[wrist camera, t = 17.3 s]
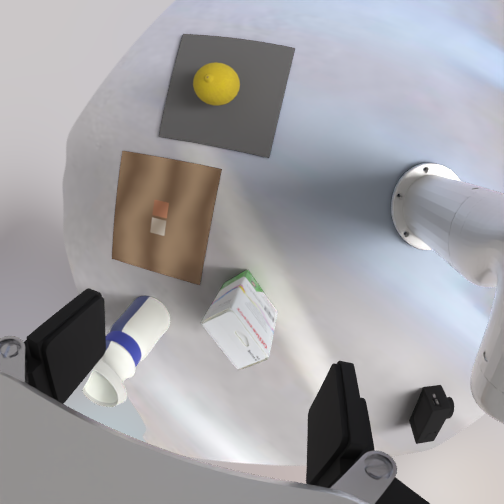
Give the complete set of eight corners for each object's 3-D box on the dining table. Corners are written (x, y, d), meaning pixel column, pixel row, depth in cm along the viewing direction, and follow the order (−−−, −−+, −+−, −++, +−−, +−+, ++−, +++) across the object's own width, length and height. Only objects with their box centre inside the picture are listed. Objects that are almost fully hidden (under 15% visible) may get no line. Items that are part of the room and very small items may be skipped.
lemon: (236, 65, 36) (222, 47, 29) (250, 100, 38) (239, 88, 30) (199, 81, 38) (178, 67, 30) (212, 115, 39) (193, 108, 31)
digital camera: (430, 417, 52) (438, 440, 45) (409, 420, 53) (415, 444, 46) (446, 383, 49) (457, 407, 42) (423, 386, 49) (433, 411, 43)
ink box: (278, 312, 48) (272, 358, 37) (251, 325, 49) (238, 373, 38) (248, 267, 46) (232, 306, 35) (220, 283, 48) (198, 324, 37)
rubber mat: (294, 49, 35) (294, 48, 34) (269, 157, 41) (268, 157, 40) (184, 35, 36) (183, 34, 35) (160, 136, 41) (158, 136, 41)
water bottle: (140, 338, 54) (69, 434, 30) (122, 298, 51) (34, 385, 28) (178, 335, 52) (113, 443, 29) (161, 291, 50) (76, 391, 26)
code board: (221, 169, 42) (221, 169, 42) (200, 284, 48) (199, 285, 48) (123, 150, 43) (122, 150, 43) (112, 258, 49) (111, 258, 49)
